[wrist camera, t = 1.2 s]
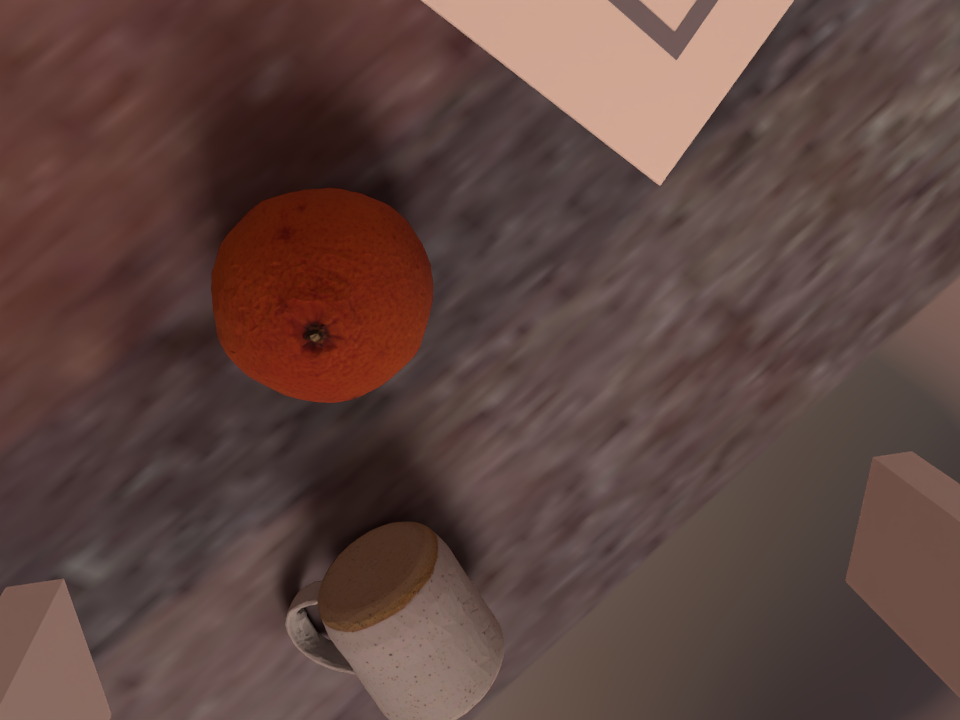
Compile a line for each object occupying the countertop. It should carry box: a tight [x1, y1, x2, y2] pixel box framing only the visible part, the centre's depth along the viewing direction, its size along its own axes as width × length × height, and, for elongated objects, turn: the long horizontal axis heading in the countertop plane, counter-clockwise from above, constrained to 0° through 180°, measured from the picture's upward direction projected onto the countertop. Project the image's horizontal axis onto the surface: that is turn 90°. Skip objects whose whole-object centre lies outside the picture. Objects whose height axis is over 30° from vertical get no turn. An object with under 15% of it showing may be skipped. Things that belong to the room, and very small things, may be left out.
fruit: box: [211, 188, 433, 403], centre depth 29 cm, size 9×9×8 cm
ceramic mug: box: [285, 521, 504, 720], centre depth 37 cm, size 11×8×8 cm
